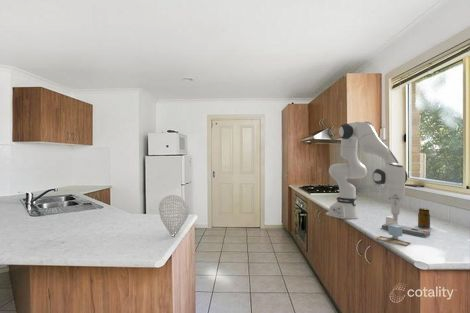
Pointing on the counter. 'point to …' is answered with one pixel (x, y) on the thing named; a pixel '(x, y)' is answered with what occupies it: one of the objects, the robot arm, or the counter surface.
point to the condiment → (424, 218)
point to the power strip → (411, 230)
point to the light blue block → (395, 231)
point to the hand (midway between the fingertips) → (395, 219)
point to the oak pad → (393, 241)
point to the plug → (391, 220)
